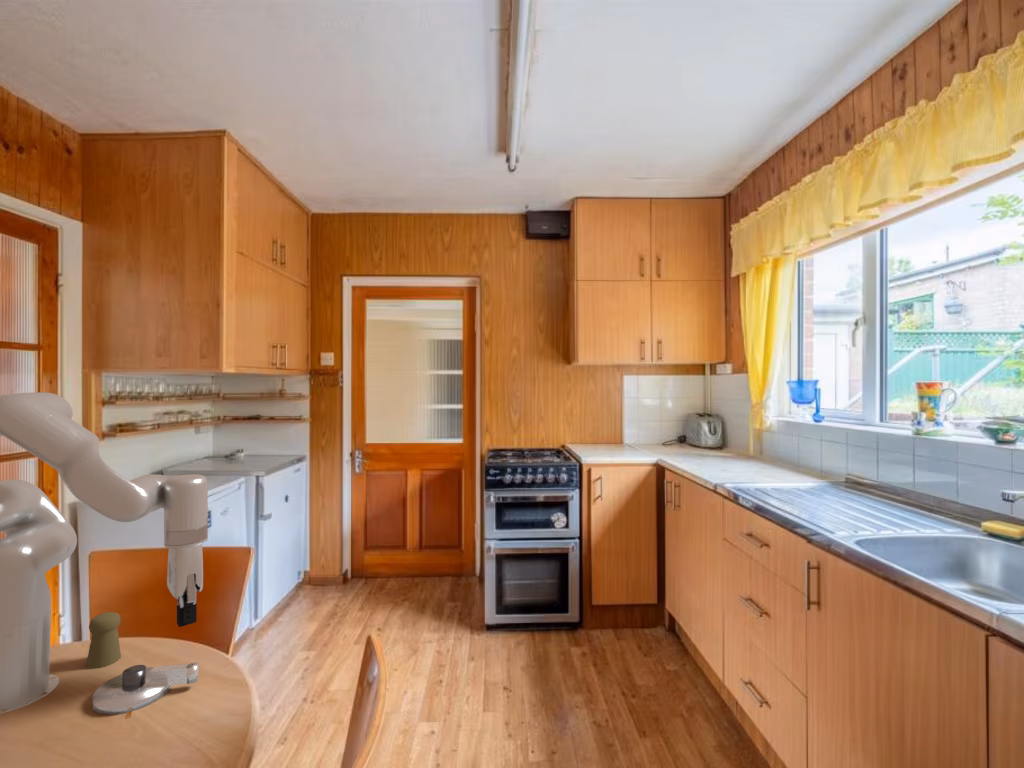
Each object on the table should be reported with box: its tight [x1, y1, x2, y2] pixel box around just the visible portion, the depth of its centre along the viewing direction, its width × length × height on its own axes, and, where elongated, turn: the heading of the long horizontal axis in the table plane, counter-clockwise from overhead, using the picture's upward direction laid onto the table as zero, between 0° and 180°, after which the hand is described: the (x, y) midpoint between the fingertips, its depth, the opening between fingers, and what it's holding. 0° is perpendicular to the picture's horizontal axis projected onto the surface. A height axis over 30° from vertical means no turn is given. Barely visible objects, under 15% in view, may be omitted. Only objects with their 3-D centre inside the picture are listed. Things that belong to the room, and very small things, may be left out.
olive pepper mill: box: [86, 611, 122, 670], centre depth 104 cm, size 6×6×11 cm
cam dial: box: [92, 662, 199, 716], centre depth 94 cm, size 17×12×4 cm
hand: (186, 623), depth 100 cm, fingers closed
